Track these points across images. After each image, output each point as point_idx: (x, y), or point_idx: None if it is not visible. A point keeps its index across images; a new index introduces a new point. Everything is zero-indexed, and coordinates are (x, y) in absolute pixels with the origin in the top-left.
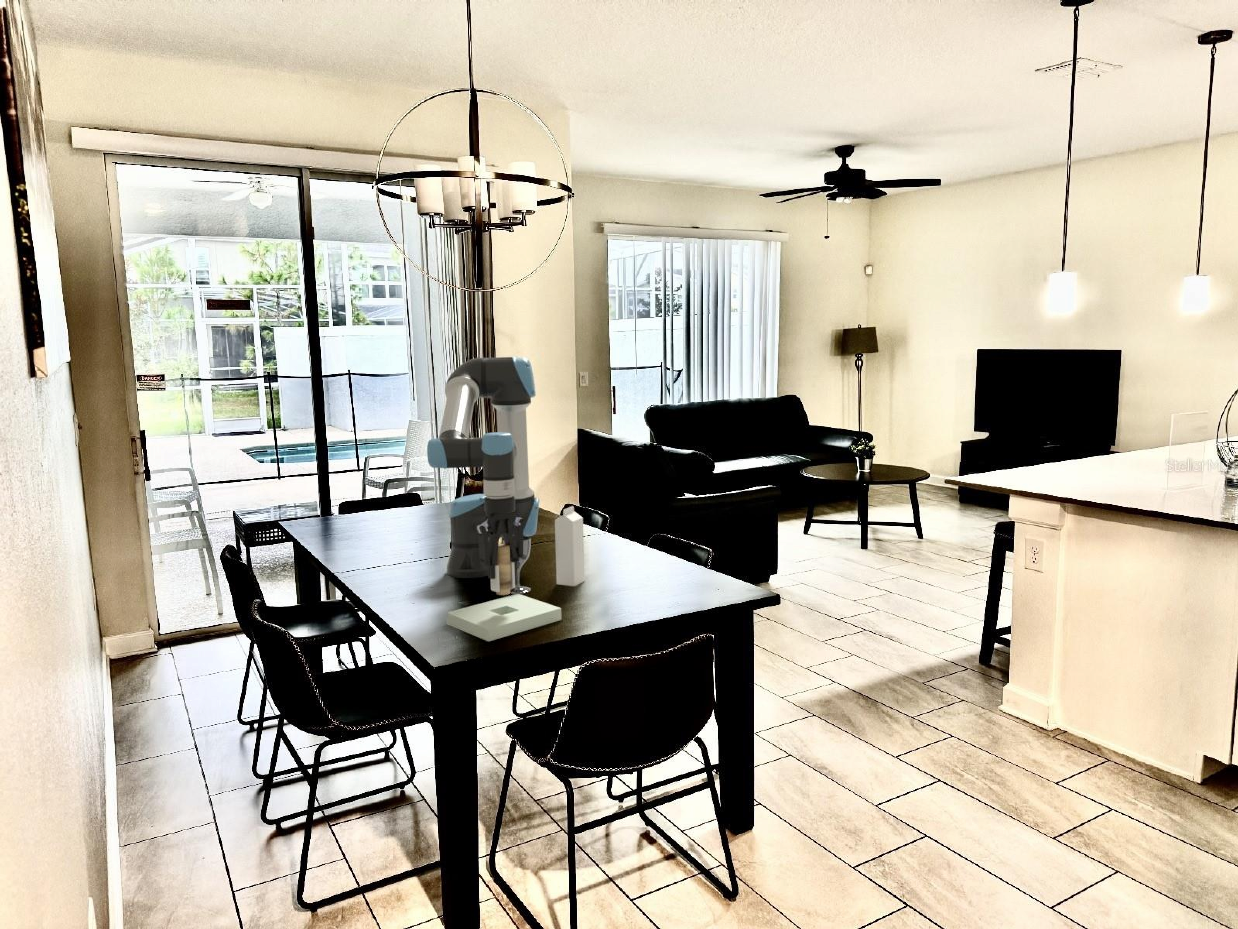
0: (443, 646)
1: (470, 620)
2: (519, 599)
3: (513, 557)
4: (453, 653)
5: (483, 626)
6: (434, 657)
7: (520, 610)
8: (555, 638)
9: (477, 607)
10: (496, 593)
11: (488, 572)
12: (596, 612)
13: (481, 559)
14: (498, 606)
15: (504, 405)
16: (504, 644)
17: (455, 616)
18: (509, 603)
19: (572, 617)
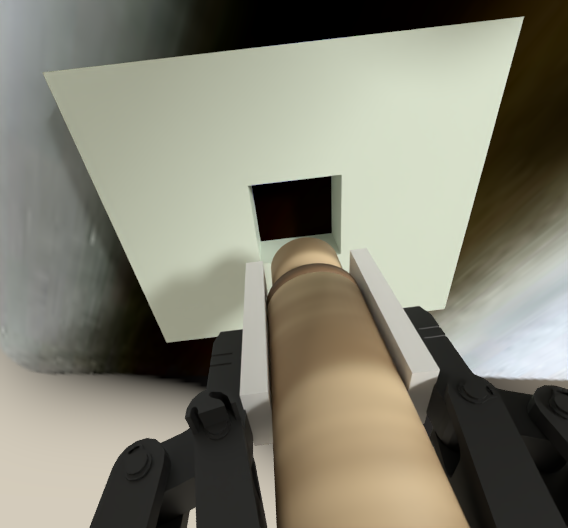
0: (39, 283)
1: (136, 250)
2: (442, 129)
3: (441, 464)
4: (64, 334)
5: (161, 320)
6: (8, 333)
7: (342, 258)
8: None
9: (222, 105)
10: (275, 254)
11: (211, 372)
12: (533, 287)
13: (116, 505)
14: (309, 161)
15: None
16: (204, 345)
17: (85, 161)
18: (370, 154)
19: (461, 285)
